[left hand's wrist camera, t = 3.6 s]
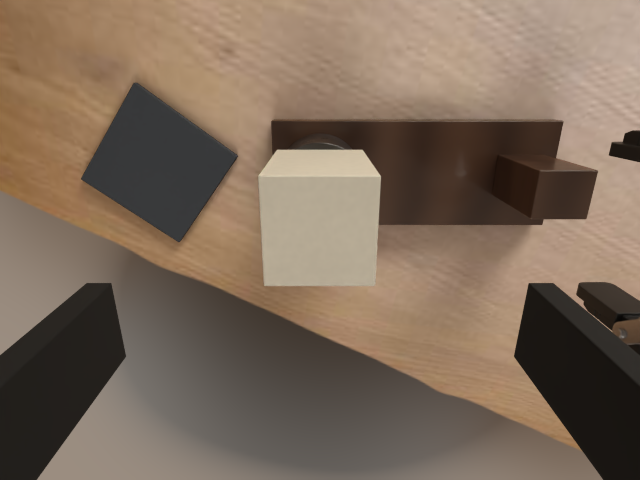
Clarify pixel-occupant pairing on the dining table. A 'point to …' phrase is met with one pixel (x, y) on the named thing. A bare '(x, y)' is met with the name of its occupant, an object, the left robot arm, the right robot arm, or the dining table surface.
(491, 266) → the dining table surface
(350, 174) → the cream rectangular block
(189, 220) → the coaster
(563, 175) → the stand
